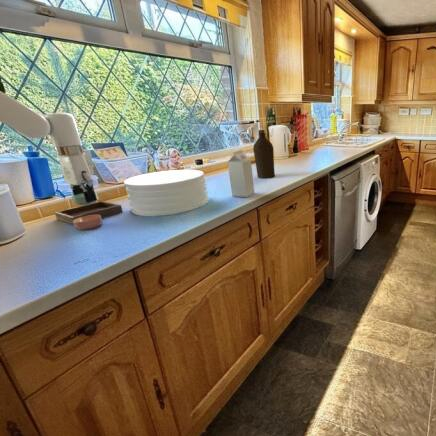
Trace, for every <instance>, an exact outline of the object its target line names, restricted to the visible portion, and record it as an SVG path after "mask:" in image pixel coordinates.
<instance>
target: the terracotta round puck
mask: <svg viewBox="0 0 436 436" xmlns="http://www.w3.org/2000/svg"><path fill="white" fill-rule="evenodd" d="M73 222H74V225H73V226H74V228H75V229H79V230H82V231H86V230H92V229H95V228H98V227H99V226H100V225H101V224H103V222H104V221H103V218H101V215H87V216H83V217H79V218H76V219H74V220H73Z"/></svg>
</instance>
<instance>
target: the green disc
mask: <svg viewBox="0 0 436 436" xmlns="http://www.w3.org/2000/svg"><path fill="white" fill-rule="evenodd" d="M94 192H95V195H96V198H97V200H96V201H93V202H89V203H87V202H86V200H85V197H84V194H83V193H81V194H77V195H71V200H72V203H73V204H75V205H77V206H83V205H87V204H92V203H95V202H97V201H98V200H99V199H100V198H99V195H98V192H97V191H94Z"/></svg>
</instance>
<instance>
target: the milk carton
mask: <svg viewBox="0 0 436 436" xmlns="http://www.w3.org/2000/svg"><path fill="white" fill-rule="evenodd" d="M232 153H233V155H232V156H231V157H230V158H229V159H228V161H227V169H228V175H229V183H230V189H231V196H232V197H237V198H248V197H251V196H253V194H255V184H254V176H253V167H252V159H251V158H250V157H249V156H247V155H246V154H245V153H244V152H243V149H240V150H237V151H233V152H232Z"/></svg>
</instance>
